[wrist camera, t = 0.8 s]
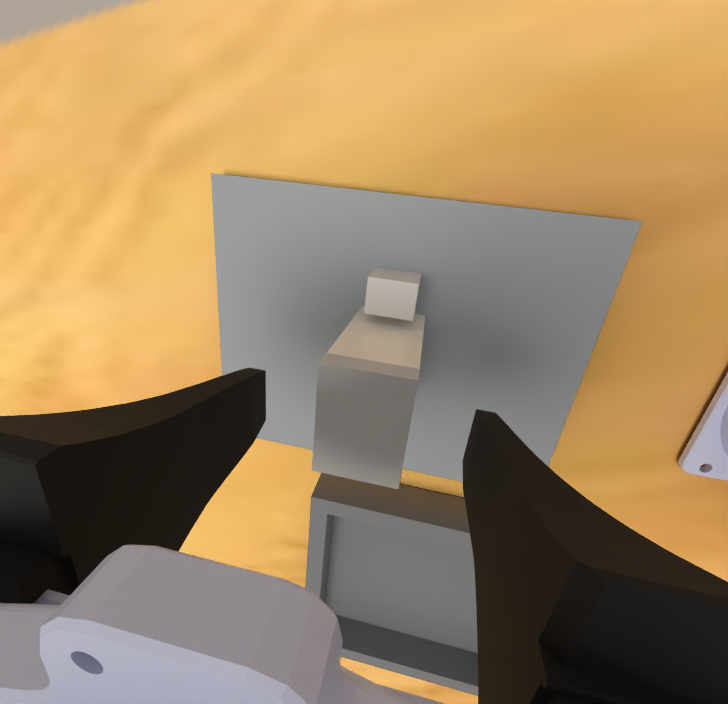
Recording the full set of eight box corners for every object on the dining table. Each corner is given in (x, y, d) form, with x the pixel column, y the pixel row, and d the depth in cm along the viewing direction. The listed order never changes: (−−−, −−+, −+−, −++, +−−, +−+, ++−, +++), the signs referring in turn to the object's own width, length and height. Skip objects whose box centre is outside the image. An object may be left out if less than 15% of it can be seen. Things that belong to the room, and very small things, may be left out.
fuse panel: (629, 220, 15) (682, 224, 12) (531, 484, 20) (549, 535, 17) (223, 175, 17) (174, 167, 14) (233, 422, 23) (200, 457, 19)
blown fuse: (425, 314, 17) (418, 380, 10) (411, 391, 18) (398, 489, 12) (362, 304, 17) (318, 362, 11) (354, 380, 19) (311, 470, 12)
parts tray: (557, 518, 21) (572, 557, 18) (497, 659, 26) (503, 703, 24) (323, 467, 23) (311, 496, 20) (312, 609, 28) (301, 645, 26)
